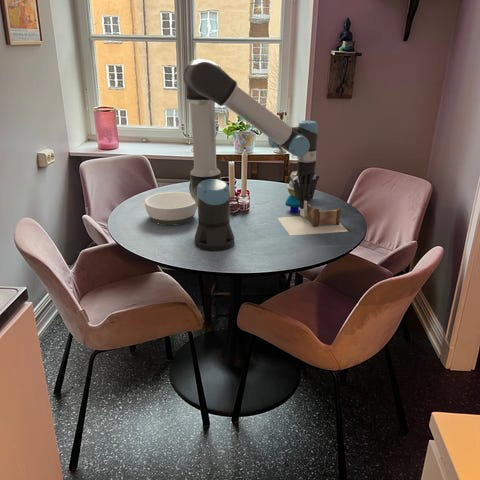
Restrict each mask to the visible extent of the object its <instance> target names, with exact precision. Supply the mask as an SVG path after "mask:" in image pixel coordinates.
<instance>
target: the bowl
mask: <svg viewBox="0 0 480 480" xmlns="http://www.w3.org/2000/svg"><path fill="white" fill-rule="evenodd" d="M144 207H145V210H146V213H147V215H148V216H149V218H150V219H151V220H152V221H154V222H153V223H155V222H156V223H155V224H157V223H159V224H158V225H160V224H165V225H164V226H175V225H174V224H180V225H183V224H182V223H184V224H186V223H185V222H187V223H189V222H190V221H192V219H194V216H195V214H196V212H197V210H198V206H197V204H196V202H195V201H194V199H193V198H192V196H191V194H190V192H189V193H188V192H184V191H183V192H181V191H168V192H159V193H155V194H153V195H149V196H148V197H146V198H145V199H144ZM188 221H189V222H188Z"/></svg>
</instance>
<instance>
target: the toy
mask: <svg viewBox="0 0 480 480" xmlns="http://www.w3.org/2000/svg"><path fill="white" fill-rule="evenodd" d="M298 181H299V180H298ZM298 183H299V182H298ZM299 187H300V185H299ZM285 188H286V189H287V192H288V193H289V195H288V196H287V199H286V200H285V206H286V207H290V209H289V210H290V211H289V212H290V213H291V214H297V213H299V209H300V208H299V204H300V201H298V200H296V198H295V192H294V186H293V183H292V181H291V180H290V181H289V183H288V184H287V185H286V186H285Z"/></svg>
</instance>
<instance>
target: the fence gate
mask: <svg viewBox="0 0 480 480" xmlns="http://www.w3.org/2000/svg"><path fill="white" fill-rule="evenodd" d="M309 203H310V202H309ZM309 203H308V208H307V216H305V217H306V218H307V219H308V220H309V221H310V222H311V223H313V209H314V207H313V206H312V205H311V204H309Z"/></svg>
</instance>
